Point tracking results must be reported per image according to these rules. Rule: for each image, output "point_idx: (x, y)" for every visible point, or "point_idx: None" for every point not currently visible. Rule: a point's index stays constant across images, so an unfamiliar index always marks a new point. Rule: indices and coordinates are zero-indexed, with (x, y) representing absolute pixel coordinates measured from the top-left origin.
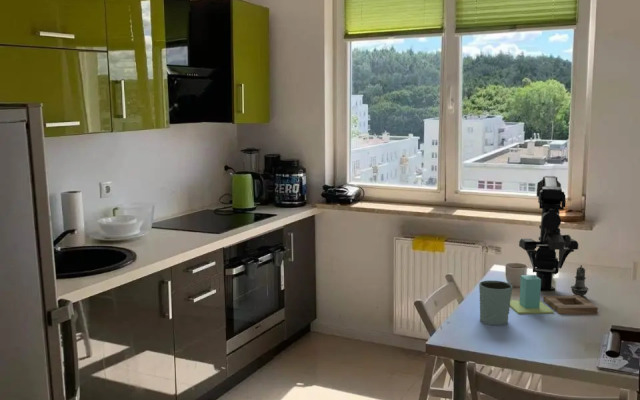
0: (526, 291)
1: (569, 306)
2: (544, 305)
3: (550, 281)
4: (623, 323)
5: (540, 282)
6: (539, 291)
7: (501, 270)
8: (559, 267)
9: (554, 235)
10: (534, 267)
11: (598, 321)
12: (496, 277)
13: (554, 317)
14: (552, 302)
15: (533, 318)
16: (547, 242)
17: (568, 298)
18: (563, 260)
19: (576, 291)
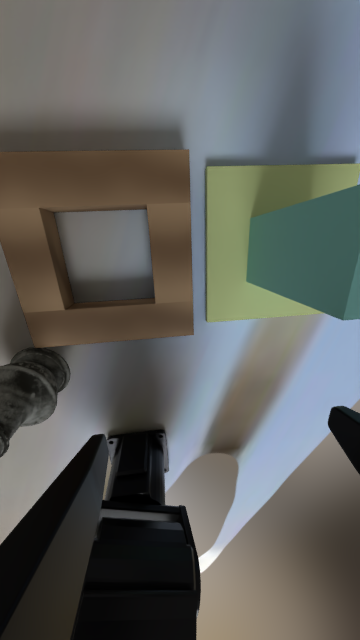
0: None
1: (127, 174)
2: (214, 256)
3: (122, 460)
4: None
5: (352, 188)
6: (302, 204)
7: (203, 554)
8: (105, 448)
9: None
10: (351, 411)
11: (12, 4)
12: (239, 511)
13: (224, 103)
14: (189, 243)
15: (324, 92)
16: None
17: (96, 307)
18: (30, 535)
19: (40, 371)
